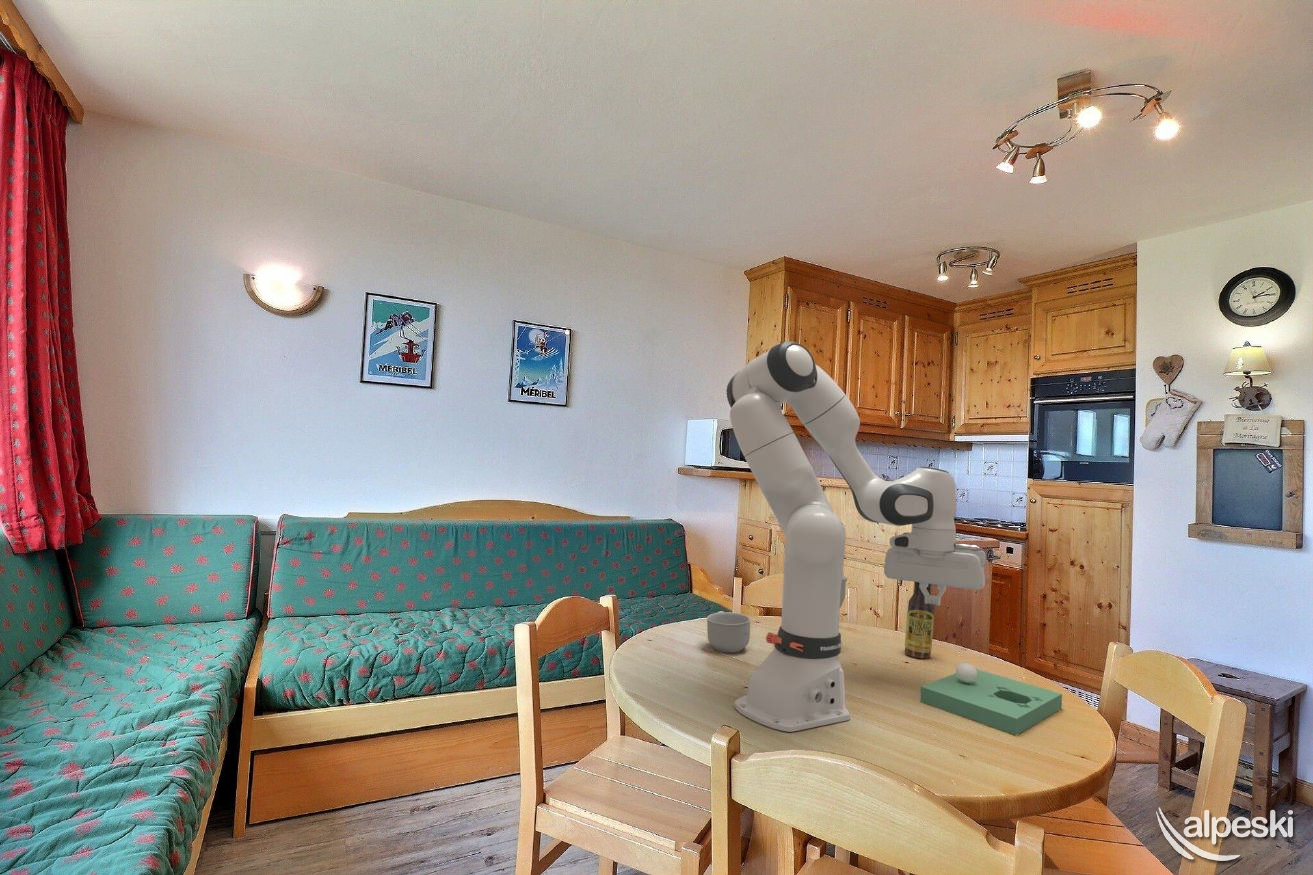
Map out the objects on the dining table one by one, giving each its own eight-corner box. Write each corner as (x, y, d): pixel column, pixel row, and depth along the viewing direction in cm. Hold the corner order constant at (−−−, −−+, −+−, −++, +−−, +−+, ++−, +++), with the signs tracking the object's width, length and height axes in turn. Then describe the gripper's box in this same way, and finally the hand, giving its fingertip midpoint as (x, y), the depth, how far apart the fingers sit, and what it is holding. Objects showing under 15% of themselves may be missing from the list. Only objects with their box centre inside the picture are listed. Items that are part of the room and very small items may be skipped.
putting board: (1016, 735, 111) (1016, 718, 111) (920, 701, 125) (920, 686, 125) (1061, 708, 124) (1062, 693, 125) (970, 680, 139) (970, 667, 139)
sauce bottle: (904, 657, 154) (907, 577, 154) (904, 650, 159) (906, 573, 160) (933, 661, 151) (936, 580, 152) (931, 654, 157) (934, 576, 158)
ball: (971, 687, 126) (972, 667, 126) (951, 681, 129) (952, 661, 129) (980, 683, 128) (981, 664, 128) (961, 677, 131) (961, 658, 132)
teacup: (752, 657, 148) (753, 623, 148) (706, 654, 148) (708, 621, 148) (744, 639, 162) (745, 609, 162) (703, 637, 162) (704, 607, 162)
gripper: (988, 544, 132) (988, 609, 132) (890, 535, 144) (889, 595, 144) (983, 547, 127) (983, 615, 127) (882, 537, 139) (881, 599, 139)
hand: (932, 604), depth 135 cm, fingers closed
